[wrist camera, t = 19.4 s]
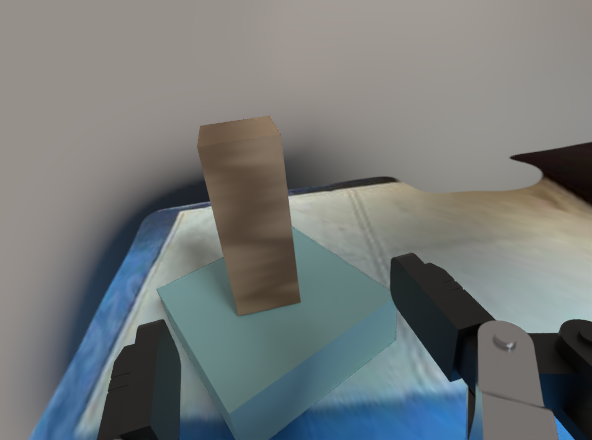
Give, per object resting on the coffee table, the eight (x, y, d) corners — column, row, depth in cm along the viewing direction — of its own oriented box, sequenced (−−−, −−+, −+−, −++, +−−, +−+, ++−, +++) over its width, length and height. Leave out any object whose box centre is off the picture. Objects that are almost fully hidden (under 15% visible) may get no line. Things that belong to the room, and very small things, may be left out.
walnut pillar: (289, 265, 29) (269, 115, 23) (300, 302, 25) (280, 134, 19) (235, 276, 28) (200, 125, 22) (238, 316, 24) (197, 146, 18)
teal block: (296, 266, 37) (290, 225, 34) (395, 343, 27) (397, 295, 25) (175, 332, 31) (156, 289, 28) (247, 461, 21) (228, 414, 19)
